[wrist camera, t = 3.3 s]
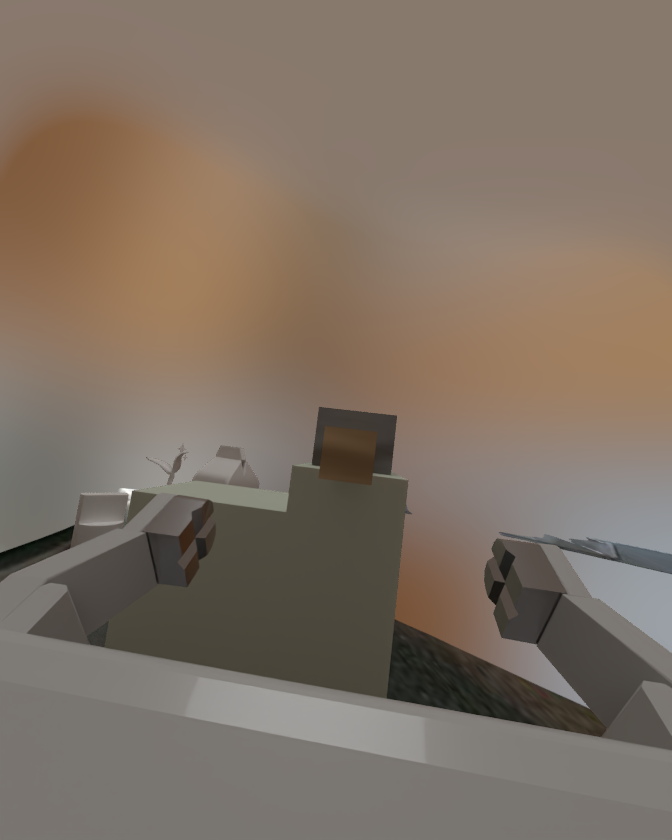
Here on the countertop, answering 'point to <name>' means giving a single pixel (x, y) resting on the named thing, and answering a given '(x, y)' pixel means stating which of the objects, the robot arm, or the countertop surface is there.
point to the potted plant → (167, 467)
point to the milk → (228, 469)
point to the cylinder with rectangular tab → (98, 515)
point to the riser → (283, 584)
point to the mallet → (353, 445)
